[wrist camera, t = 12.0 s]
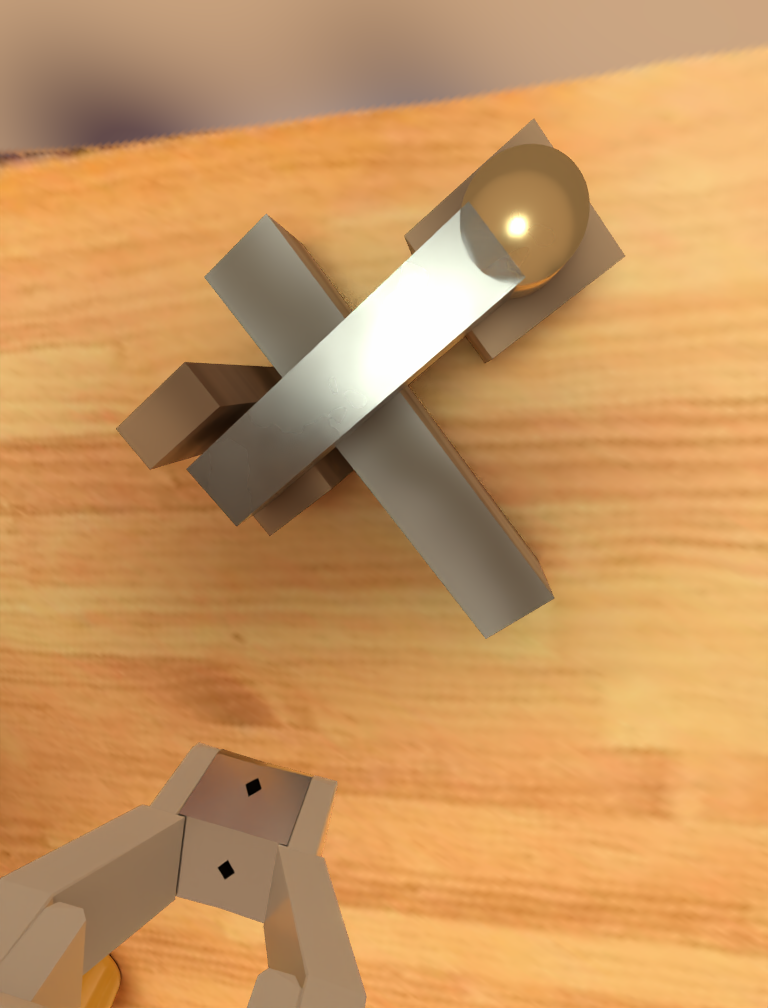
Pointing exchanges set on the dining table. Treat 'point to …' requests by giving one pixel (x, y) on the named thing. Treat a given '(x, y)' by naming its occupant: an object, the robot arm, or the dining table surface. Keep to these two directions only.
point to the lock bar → (405, 324)
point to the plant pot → (100, 984)
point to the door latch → (385, 435)
